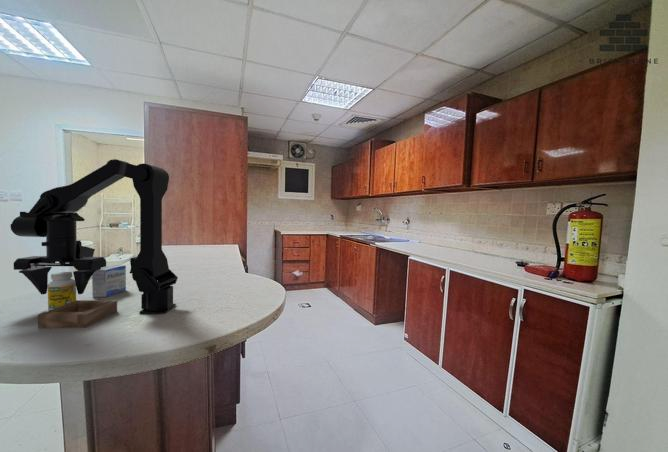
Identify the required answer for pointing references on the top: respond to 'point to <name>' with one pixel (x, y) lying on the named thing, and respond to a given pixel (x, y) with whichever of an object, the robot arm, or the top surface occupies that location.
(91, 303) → the socket block
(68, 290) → the supplement bottle
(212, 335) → the top surface
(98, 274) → the medicine box
